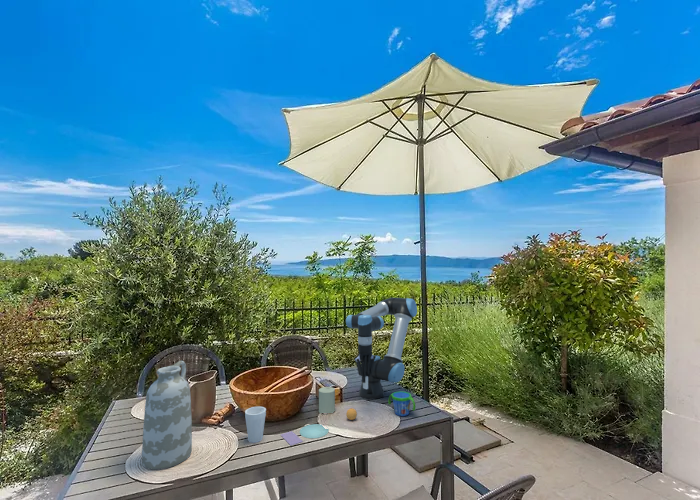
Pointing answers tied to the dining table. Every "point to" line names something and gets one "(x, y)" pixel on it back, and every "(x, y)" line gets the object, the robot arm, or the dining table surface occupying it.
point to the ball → (351, 414)
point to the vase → (167, 420)
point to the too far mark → (291, 438)
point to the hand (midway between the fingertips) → (365, 388)
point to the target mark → (313, 431)
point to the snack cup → (401, 402)
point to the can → (326, 400)
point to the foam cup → (255, 423)
